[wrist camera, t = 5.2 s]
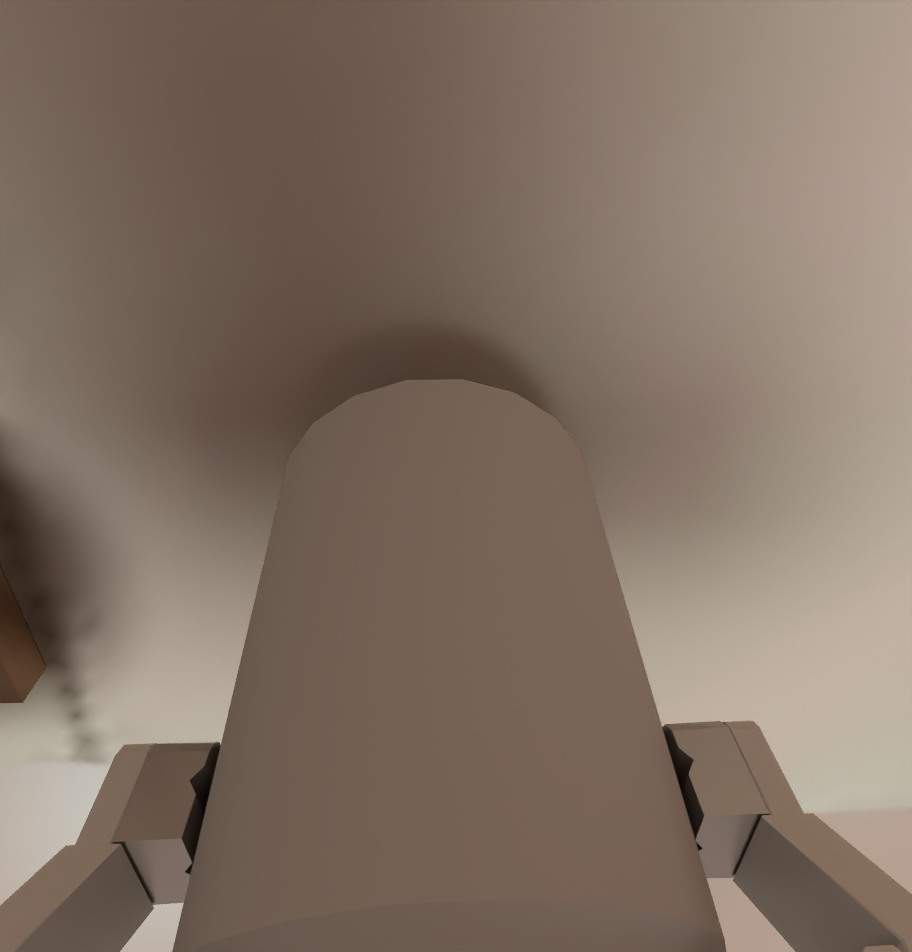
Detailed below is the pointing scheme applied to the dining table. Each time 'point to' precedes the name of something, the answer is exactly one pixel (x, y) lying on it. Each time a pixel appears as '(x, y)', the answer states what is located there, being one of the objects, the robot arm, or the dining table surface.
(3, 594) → the scale
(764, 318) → the dining table surface
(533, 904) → the can
